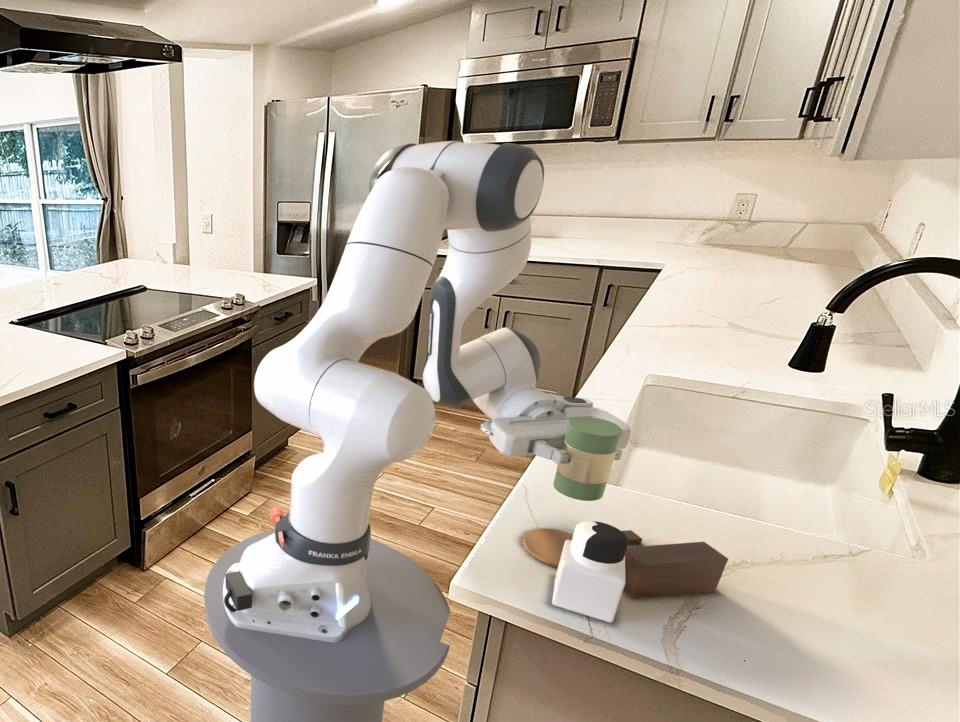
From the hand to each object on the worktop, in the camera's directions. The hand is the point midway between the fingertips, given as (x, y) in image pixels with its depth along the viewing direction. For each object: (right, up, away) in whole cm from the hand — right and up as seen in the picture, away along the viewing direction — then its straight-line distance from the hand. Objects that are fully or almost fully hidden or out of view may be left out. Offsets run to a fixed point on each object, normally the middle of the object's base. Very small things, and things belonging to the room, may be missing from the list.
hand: (591, 458), depth 91 cm
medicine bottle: (-4, -20, -4) cm, 21 cm away
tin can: (0, -6, -1) cm, 6 cm away
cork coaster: (-1, -15, +7) cm, 17 cm away
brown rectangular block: (+9, -17, +2) cm, 19 cm away
